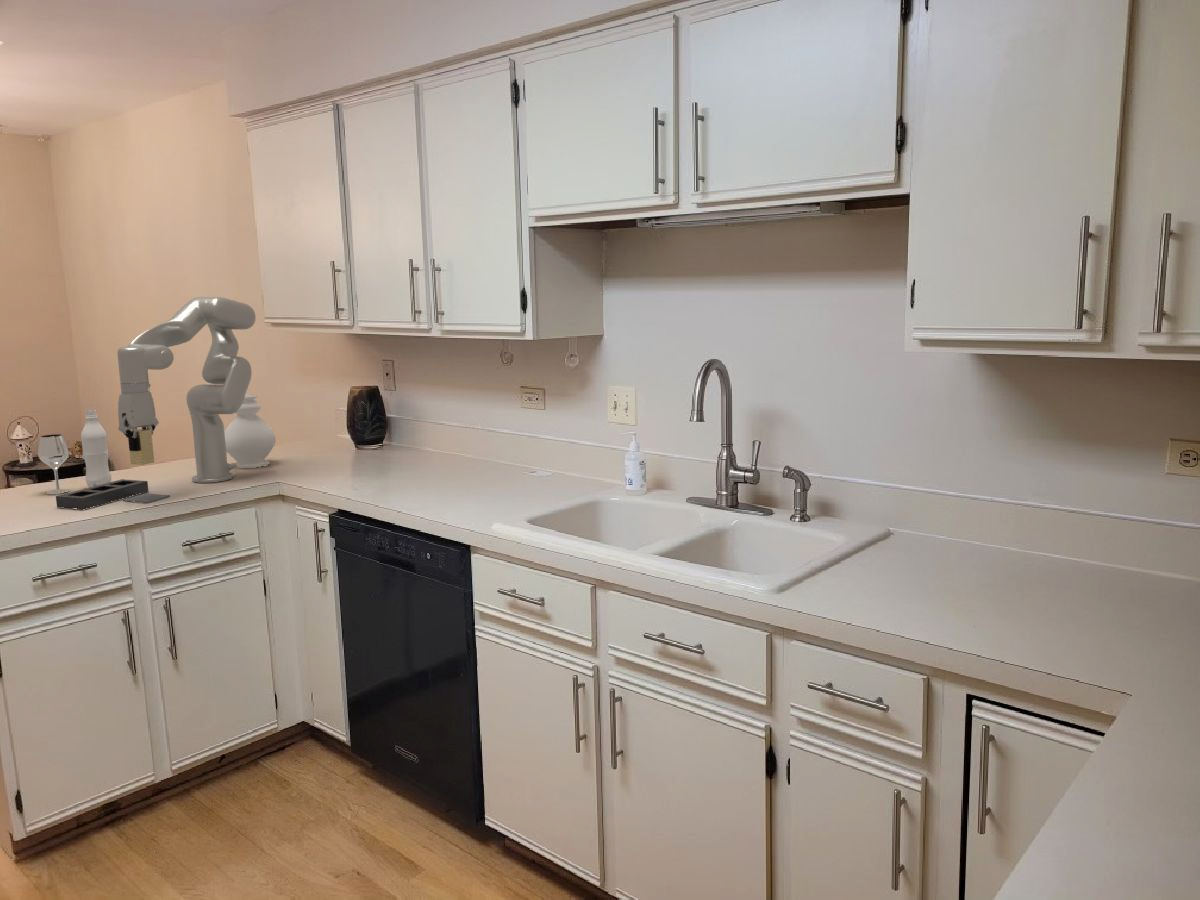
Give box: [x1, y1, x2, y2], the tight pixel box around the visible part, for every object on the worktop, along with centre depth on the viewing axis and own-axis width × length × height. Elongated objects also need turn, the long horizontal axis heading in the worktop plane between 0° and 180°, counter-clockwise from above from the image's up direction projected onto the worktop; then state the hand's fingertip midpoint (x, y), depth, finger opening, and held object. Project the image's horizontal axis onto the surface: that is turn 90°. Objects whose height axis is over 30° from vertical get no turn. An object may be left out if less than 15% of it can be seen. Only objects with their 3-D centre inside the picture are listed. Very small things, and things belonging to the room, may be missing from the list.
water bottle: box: [80, 409, 112, 488], centre depth 283 cm, size 7×7×25 cm
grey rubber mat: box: [122, 492, 171, 504], centre depth 268 cm, size 9×9×1 cm
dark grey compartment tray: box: [55, 479, 149, 510], centre depth 268 cm, size 24×10×4 cm, turn 163°
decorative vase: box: [224, 394, 276, 469], centre depth 317 cm, size 18×18×25 cm
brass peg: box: [129, 428, 155, 466], centre depth 265 cm, size 4×4×10 cm
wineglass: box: [37, 433, 71, 495], centre depth 277 cm, size 8×8×18 cm
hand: (141, 448), depth 265 cm, fingers closed on brass peg, 4 cm apart
